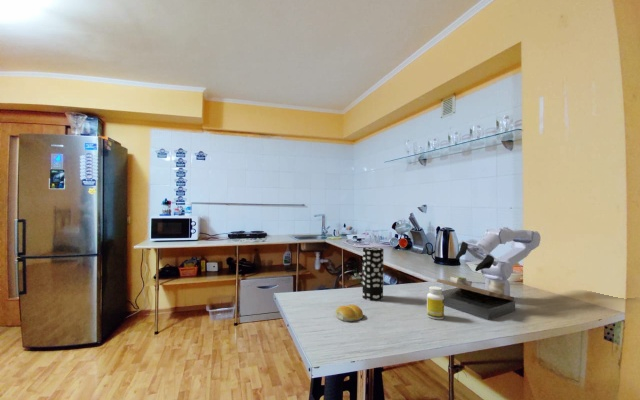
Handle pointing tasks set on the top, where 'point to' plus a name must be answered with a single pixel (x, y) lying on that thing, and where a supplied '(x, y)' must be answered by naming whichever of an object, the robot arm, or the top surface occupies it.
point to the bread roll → (349, 313)
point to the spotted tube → (372, 274)
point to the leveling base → (477, 303)
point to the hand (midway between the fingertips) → (466, 263)
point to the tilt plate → (493, 288)
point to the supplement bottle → (435, 303)
